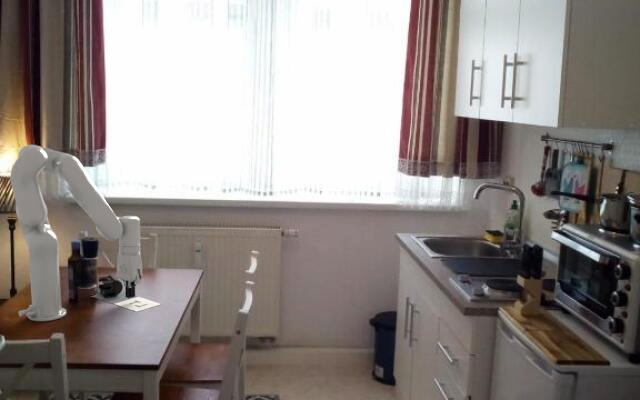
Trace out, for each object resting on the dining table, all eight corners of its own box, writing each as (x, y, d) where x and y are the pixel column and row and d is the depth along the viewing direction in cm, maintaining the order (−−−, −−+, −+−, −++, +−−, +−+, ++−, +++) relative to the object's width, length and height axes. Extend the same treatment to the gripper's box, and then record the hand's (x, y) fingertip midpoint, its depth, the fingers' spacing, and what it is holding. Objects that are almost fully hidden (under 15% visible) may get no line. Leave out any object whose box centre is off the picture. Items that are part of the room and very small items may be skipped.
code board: (136, 311, 240) (136, 311, 240) (113, 304, 249) (113, 303, 249) (161, 304, 249) (161, 304, 249) (138, 297, 258) (138, 296, 258)
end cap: (123, 295, 259) (122, 279, 257) (104, 298, 255) (103, 281, 254) (116, 289, 267) (116, 272, 266) (98, 291, 263) (97, 275, 262)
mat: (113, 304, 249) (113, 303, 249) (89, 295, 259) (89, 295, 259) (138, 297, 258) (138, 296, 258) (113, 289, 267) (113, 289, 267)
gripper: (109, 247, 249) (109, 295, 252) (133, 254, 240) (134, 303, 243) (126, 244, 255) (126, 291, 258) (150, 251, 246) (151, 299, 248)
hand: (130, 297), depth 250 cm, fingers closed
